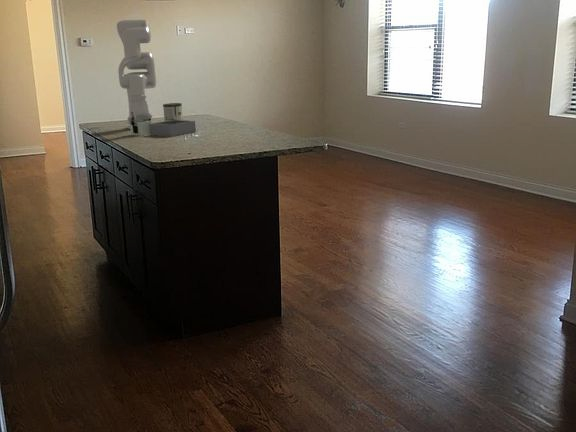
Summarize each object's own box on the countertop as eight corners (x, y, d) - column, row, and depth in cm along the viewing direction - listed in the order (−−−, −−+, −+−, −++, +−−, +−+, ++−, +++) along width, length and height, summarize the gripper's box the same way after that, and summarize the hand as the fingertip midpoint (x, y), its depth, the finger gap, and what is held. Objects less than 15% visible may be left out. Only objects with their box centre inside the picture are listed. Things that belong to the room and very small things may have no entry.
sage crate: (130, 134, 341) (129, 121, 339) (141, 133, 346) (139, 120, 344) (142, 135, 336) (140, 122, 334) (152, 134, 341) (150, 121, 339)
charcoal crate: (150, 135, 337) (149, 123, 335) (175, 130, 351) (174, 119, 349) (171, 136, 327) (170, 125, 326) (195, 132, 341) (195, 120, 340)
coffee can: (168, 128, 363) (165, 103, 360) (185, 127, 362) (183, 102, 359) (162, 130, 354) (160, 105, 350) (180, 130, 352) (178, 104, 349)
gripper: (145, 97, 345) (149, 129, 349) (120, 100, 331) (123, 134, 336) (155, 97, 340) (158, 130, 345) (129, 100, 327) (133, 134, 332)
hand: (141, 131), depth 341 cm, fingers closed on sage crate, 7 cm apart
